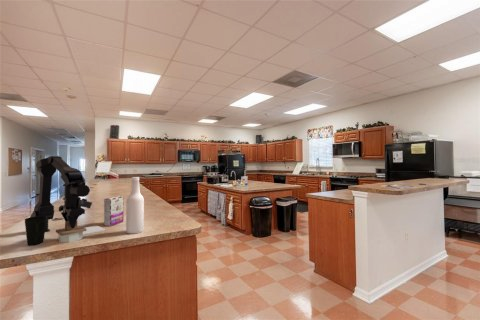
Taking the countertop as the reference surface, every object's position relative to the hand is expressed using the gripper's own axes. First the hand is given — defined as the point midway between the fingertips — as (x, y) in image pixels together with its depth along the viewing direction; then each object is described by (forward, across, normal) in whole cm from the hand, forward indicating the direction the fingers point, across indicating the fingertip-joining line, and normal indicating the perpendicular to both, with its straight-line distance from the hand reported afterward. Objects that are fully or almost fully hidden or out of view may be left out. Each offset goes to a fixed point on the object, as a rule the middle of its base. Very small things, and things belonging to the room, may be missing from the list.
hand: (71, 227), depth 111 cm
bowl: (+6, 0, 0) cm, 6 cm away
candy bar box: (+6, +15, -26) cm, 31 cm away
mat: (+6, +10, -11) cm, 16 cm away
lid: (+2, 0, 0) cm, 2 cm away
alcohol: (+6, -12, -26) cm, 29 cm away
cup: (+6, +6, +12) cm, 15 cm away
